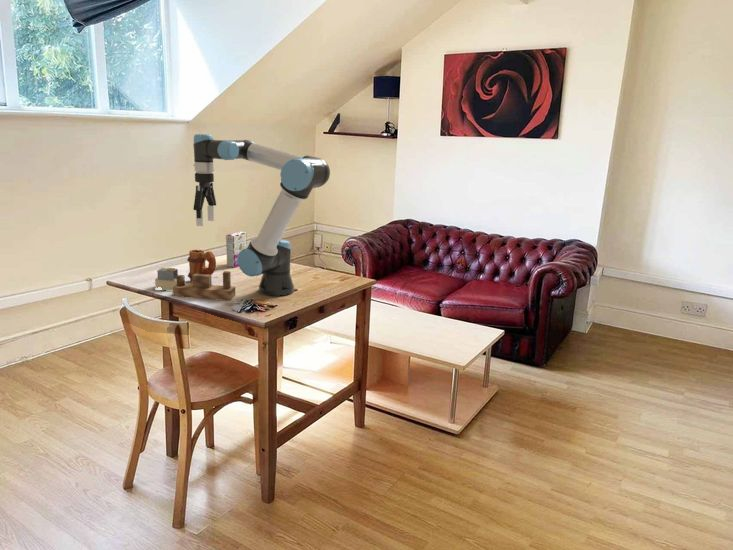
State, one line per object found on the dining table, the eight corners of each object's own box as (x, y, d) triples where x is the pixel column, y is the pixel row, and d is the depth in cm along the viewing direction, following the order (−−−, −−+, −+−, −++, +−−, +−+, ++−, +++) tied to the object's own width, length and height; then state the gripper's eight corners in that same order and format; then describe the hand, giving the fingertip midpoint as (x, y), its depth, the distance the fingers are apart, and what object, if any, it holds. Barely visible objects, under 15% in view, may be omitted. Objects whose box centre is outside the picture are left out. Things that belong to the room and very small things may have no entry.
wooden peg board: (235, 295, 239) (235, 270, 236) (230, 300, 232) (229, 274, 229) (179, 291, 240) (179, 266, 237) (173, 296, 233) (172, 270, 231)
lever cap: (177, 278, 246) (177, 267, 245) (173, 280, 242) (173, 269, 240) (162, 276, 246) (161, 266, 245) (157, 279, 242) (157, 268, 241)
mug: (183, 281, 255) (182, 249, 251) (196, 278, 262) (195, 246, 258) (208, 287, 248) (207, 254, 244) (221, 283, 255) (220, 250, 251)
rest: (184, 285, 250) (183, 276, 248) (174, 291, 240) (174, 282, 239) (162, 283, 250) (161, 275, 249) (151, 290, 241) (151, 281, 240)
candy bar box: (239, 262, 294) (238, 231, 290) (247, 263, 292) (247, 232, 288) (226, 266, 284) (225, 234, 280) (234, 268, 282) (233, 235, 278)
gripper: (205, 169, 247) (207, 218, 253) (183, 174, 223) (185, 227, 228) (222, 170, 247) (223, 219, 252) (202, 175, 223) (204, 228, 228)
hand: (205, 223), depth 240 cm, fingers open, 13 cm apart
